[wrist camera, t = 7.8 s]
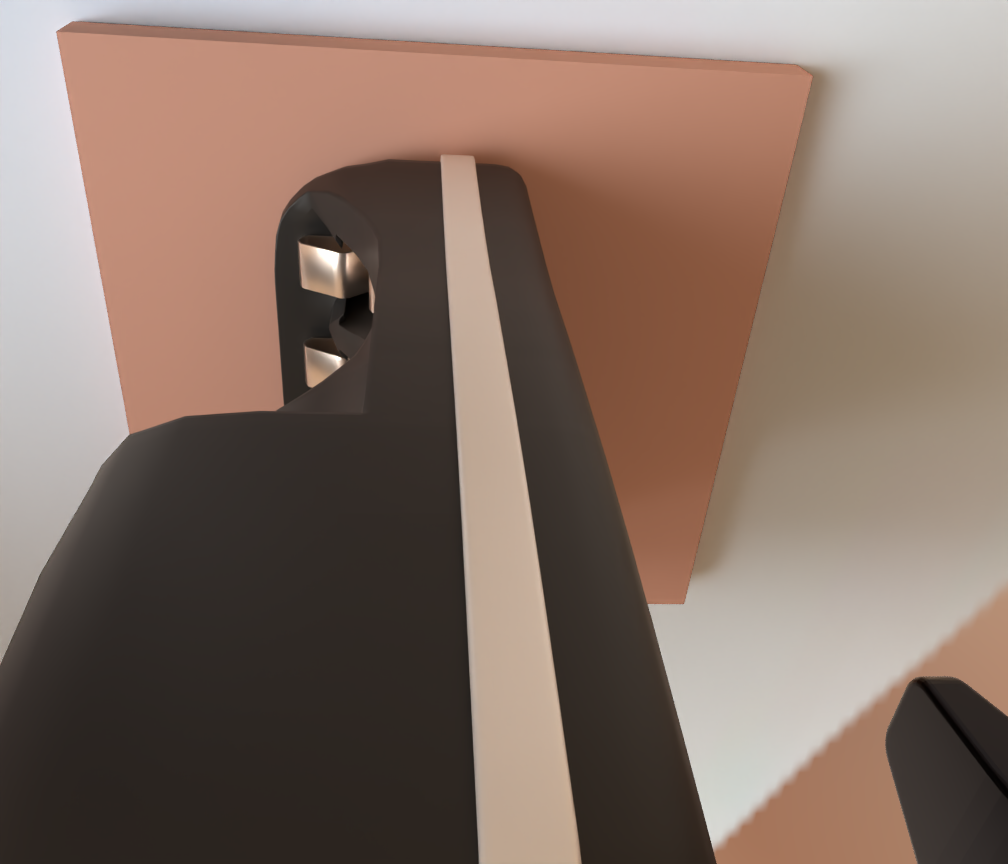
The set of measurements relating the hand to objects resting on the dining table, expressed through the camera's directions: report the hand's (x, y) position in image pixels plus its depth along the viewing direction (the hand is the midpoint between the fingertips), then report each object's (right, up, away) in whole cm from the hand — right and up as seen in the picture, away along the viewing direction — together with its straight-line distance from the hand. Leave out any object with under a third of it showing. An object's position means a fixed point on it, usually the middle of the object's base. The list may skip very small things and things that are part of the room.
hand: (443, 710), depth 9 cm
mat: (0, +4, +5) cm, 7 cm away
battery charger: (-1, +4, +5) cm, 6 cm away
